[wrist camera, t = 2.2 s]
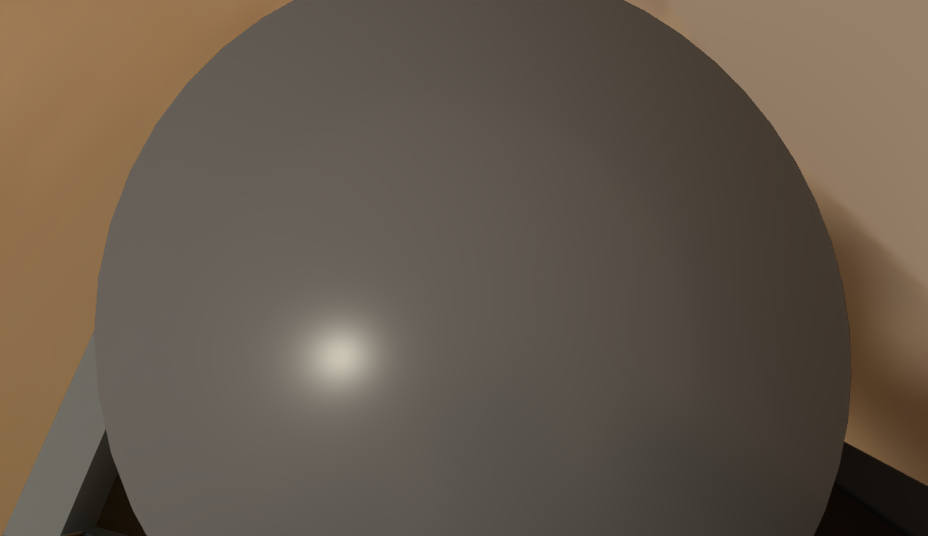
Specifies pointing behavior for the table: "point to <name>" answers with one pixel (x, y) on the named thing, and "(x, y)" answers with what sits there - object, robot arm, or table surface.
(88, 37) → the table surface
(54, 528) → the grey square tray
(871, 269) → the table surface
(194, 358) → the canister
